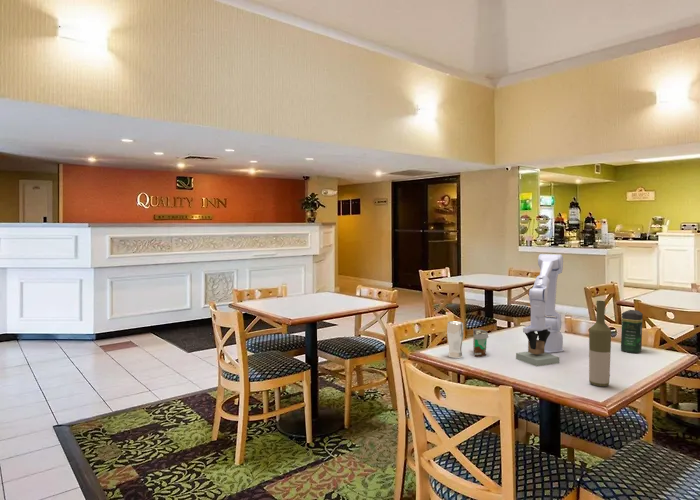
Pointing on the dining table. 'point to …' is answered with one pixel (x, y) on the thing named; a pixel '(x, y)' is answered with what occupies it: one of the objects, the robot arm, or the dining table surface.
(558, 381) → the dining table surface
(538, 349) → the walnut block
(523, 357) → the grey platform
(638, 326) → the coffee jar
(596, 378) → the bottle
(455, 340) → the beer glass
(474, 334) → the food container
